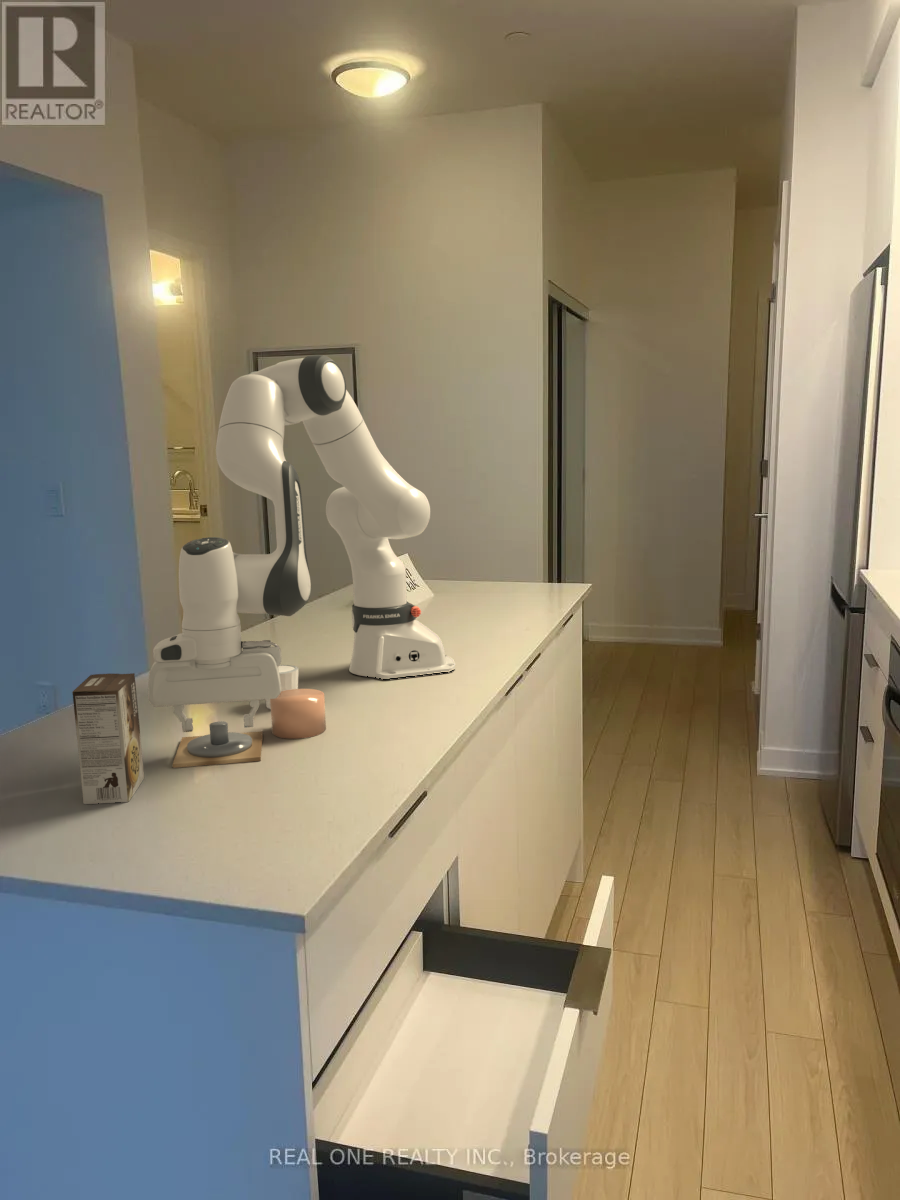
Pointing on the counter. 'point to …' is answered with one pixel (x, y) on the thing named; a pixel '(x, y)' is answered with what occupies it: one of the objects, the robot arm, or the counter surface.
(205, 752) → the lid
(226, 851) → the counter surface
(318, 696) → the canister
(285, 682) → the white cup
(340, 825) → the counter surface
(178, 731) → the counter surface
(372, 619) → the robot arm
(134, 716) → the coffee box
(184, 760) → the mat
